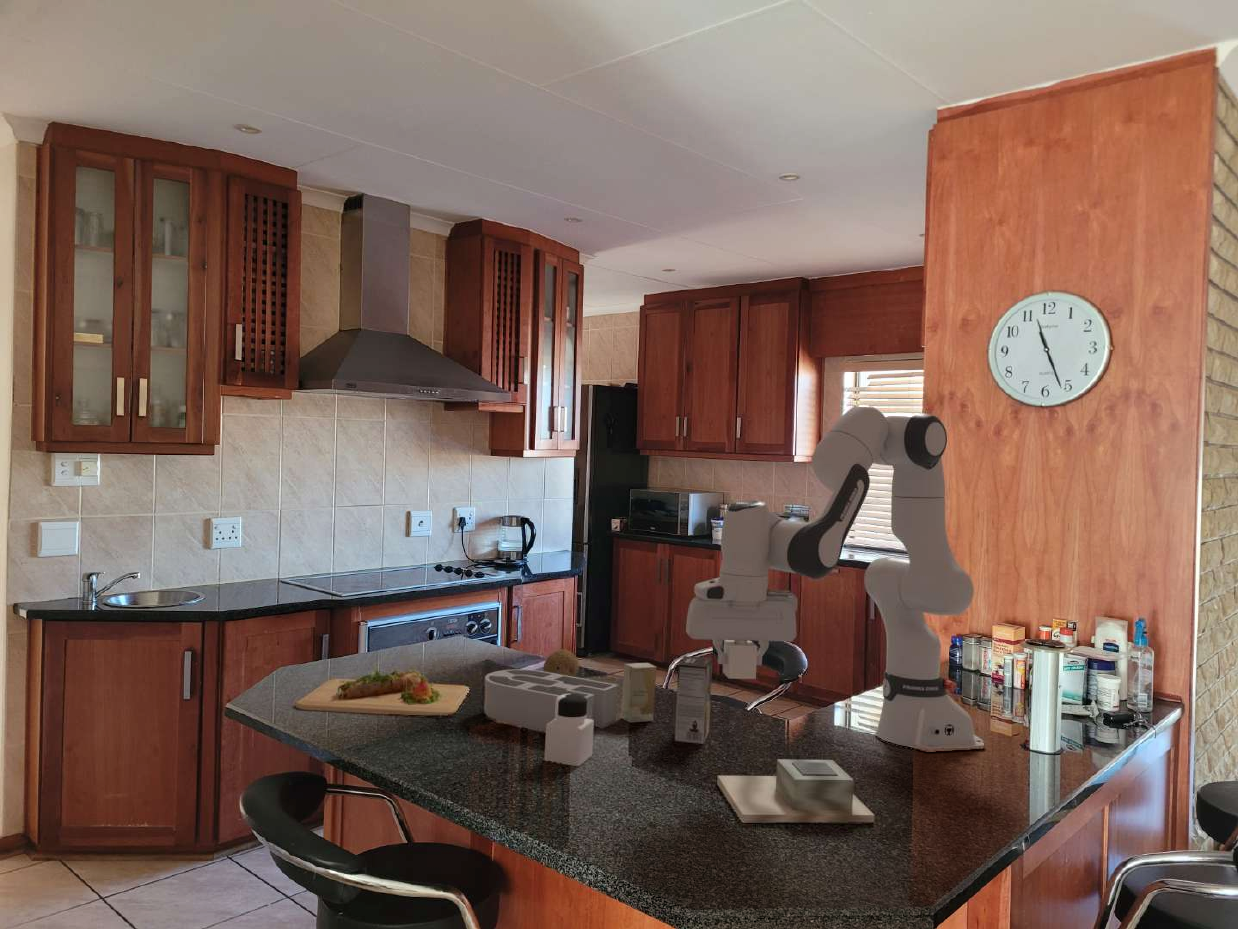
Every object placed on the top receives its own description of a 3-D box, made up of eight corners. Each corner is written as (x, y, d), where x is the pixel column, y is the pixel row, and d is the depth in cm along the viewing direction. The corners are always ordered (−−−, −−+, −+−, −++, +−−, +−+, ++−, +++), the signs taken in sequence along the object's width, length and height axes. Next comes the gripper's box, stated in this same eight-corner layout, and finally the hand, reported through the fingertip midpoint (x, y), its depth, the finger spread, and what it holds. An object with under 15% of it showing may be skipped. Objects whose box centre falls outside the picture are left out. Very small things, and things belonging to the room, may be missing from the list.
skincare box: (629, 723, 198) (632, 667, 198) (620, 718, 202) (622, 663, 202) (654, 721, 201) (657, 666, 201) (645, 715, 205) (647, 662, 205)
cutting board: (473, 693, 219) (474, 662, 219) (452, 721, 196) (454, 686, 196) (330, 686, 220) (331, 655, 220) (293, 712, 196) (294, 677, 196)
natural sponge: (576, 695, 220) (578, 654, 220) (540, 693, 220) (542, 652, 220) (578, 686, 229) (580, 646, 229) (543, 684, 229) (545, 645, 229)
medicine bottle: (592, 756, 175) (595, 694, 175) (579, 767, 168) (582, 702, 168) (558, 750, 177) (561, 689, 177) (543, 761, 170) (546, 697, 170)
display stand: (835, 784, 165) (836, 748, 165) (874, 824, 147) (876, 783, 147) (717, 784, 163) (719, 746, 163) (742, 824, 145) (744, 782, 145)
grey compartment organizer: (577, 743, 183) (580, 700, 183) (467, 719, 196) (469, 679, 196) (617, 724, 198) (618, 685, 198) (511, 703, 211) (513, 666, 211)
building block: (748, 672, 169) (750, 636, 169) (755, 679, 164) (757, 641, 164) (722, 672, 169) (724, 635, 169) (728, 678, 164) (730, 641, 164)
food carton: (679, 729, 196) (683, 655, 196) (709, 732, 194) (713, 657, 194) (673, 741, 187) (677, 663, 187) (704, 744, 185) (708, 666, 185)
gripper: (792, 588, 171) (789, 661, 171) (686, 585, 169) (682, 659, 169) (803, 593, 164) (799, 669, 164) (692, 589, 162) (688, 666, 162)
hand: (739, 664), depth 166 cm, fingers closed on building block, 5 cm apart
